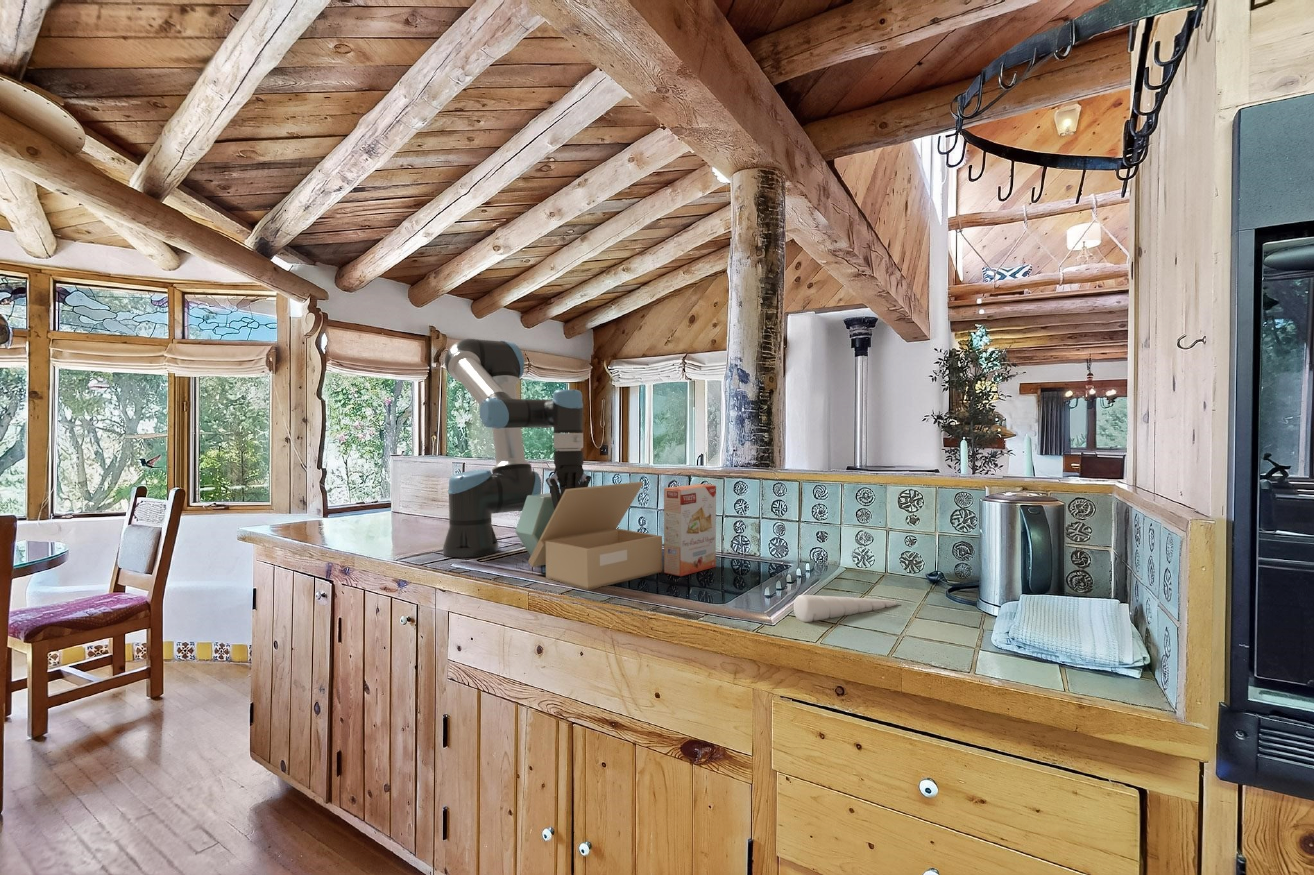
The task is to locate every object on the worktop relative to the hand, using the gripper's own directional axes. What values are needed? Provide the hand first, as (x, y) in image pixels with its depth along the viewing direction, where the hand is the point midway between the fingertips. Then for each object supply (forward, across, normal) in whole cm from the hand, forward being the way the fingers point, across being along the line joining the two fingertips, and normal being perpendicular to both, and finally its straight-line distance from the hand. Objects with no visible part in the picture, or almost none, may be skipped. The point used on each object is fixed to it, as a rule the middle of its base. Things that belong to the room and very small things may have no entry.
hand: (569, 541), depth 154 cm
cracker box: (+7, +18, -26) cm, 32 cm away
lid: (-5, 0, -8) cm, 10 cm away
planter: (+6, +3, +11) cm, 13 cm away
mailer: (+6, 0, -14) cm, 15 cm away
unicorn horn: (+7, +13, -70) cm, 72 cm away
